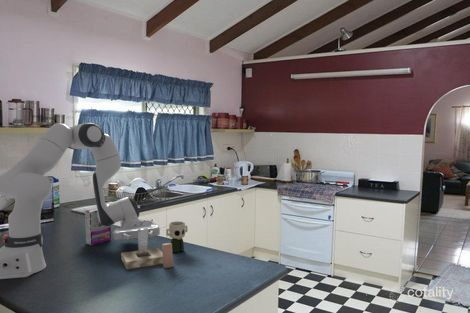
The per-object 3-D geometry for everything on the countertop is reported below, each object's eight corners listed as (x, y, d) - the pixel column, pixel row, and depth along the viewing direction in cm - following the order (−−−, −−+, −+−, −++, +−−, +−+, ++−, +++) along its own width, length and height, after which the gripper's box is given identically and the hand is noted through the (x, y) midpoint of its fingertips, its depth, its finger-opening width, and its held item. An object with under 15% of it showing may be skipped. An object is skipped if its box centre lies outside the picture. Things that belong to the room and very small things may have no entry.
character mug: (170, 255, 171) (170, 226, 170) (162, 251, 176) (162, 223, 175) (191, 250, 178) (191, 223, 176) (183, 246, 183) (183, 219, 182)
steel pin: (139, 263, 161) (139, 230, 159) (137, 260, 164) (137, 228, 163) (149, 262, 162) (148, 229, 161) (146, 259, 166) (146, 227, 165)
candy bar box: (105, 238, 195) (104, 206, 194) (111, 240, 192) (110, 207, 191) (85, 243, 187) (84, 210, 185) (91, 245, 184) (90, 211, 182)
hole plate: (126, 269, 154) (126, 262, 154) (121, 259, 165) (121, 252, 165) (165, 263, 161) (165, 256, 161) (158, 254, 172) (158, 247, 172)
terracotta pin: (168, 268, 155) (167, 246, 155) (161, 267, 157) (159, 245, 157) (175, 265, 158) (173, 243, 158) (168, 264, 160) (166, 242, 160)
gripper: (110, 224, 175) (115, 232, 163) (155, 220, 184) (162, 227, 172) (110, 238, 176) (115, 247, 164) (155, 232, 185) (162, 240, 172)
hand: (140, 236), depth 168 cm, fingers open, 8 cm apart
